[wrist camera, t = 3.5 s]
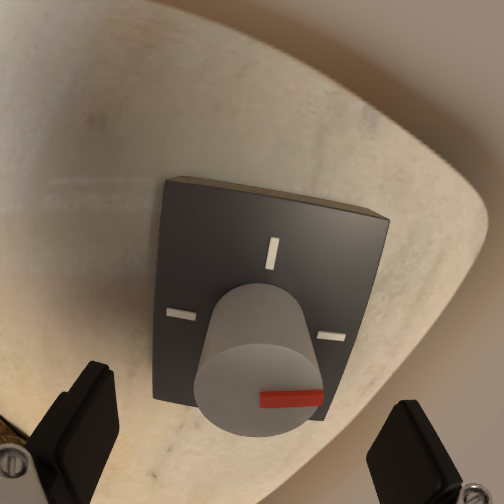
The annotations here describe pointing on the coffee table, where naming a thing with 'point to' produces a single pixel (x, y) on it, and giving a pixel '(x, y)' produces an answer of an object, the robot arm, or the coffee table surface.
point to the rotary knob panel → (258, 271)
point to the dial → (258, 364)
